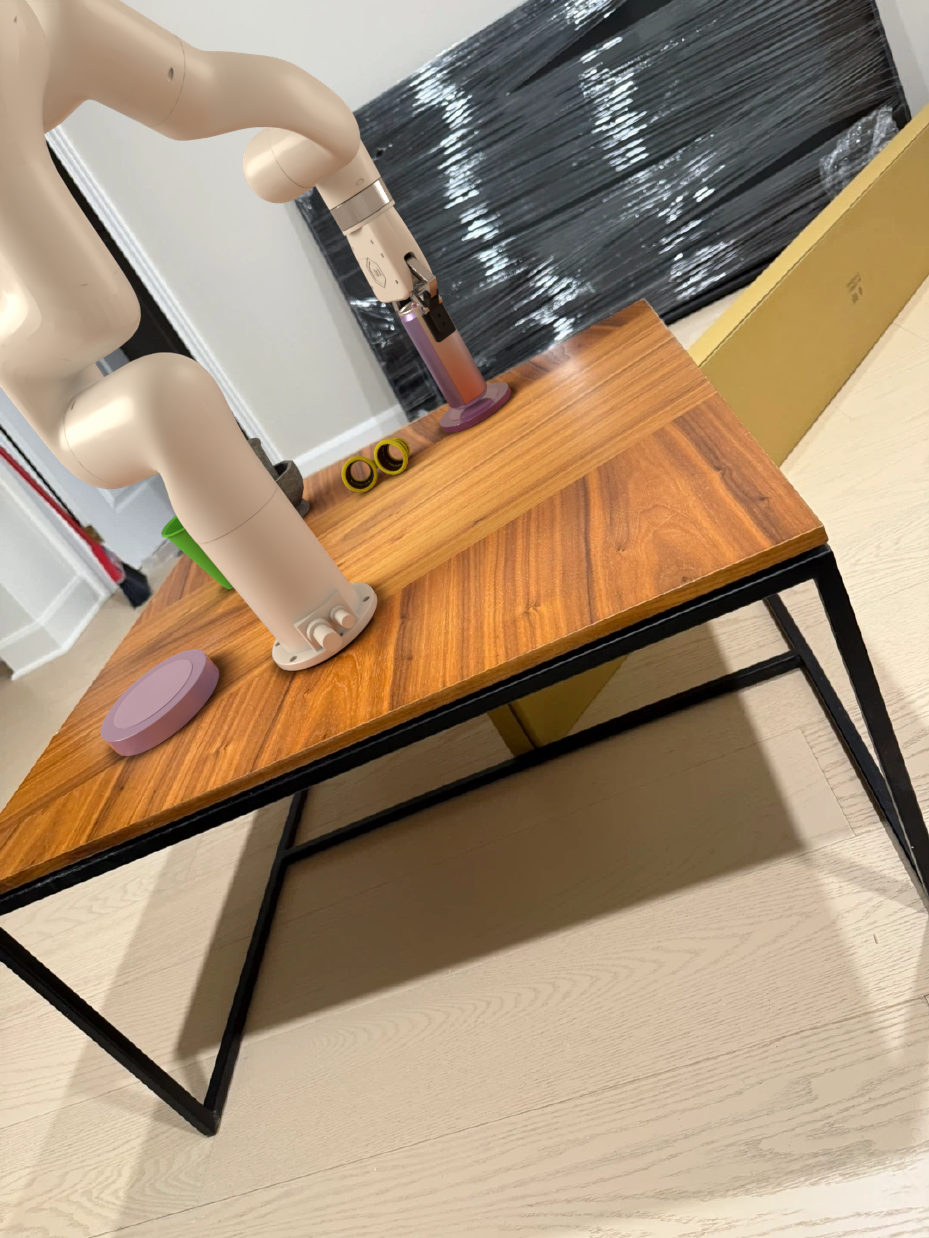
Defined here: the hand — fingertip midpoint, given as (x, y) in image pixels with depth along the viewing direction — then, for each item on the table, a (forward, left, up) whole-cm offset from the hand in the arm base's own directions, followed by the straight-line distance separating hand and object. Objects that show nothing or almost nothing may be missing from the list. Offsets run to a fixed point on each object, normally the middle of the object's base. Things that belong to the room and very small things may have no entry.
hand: (435, 336), depth 113 cm
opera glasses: (+2, +16, -12) cm, 20 cm away
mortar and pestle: (+14, +28, -12) cm, 33 cm away
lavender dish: (-15, +56, -12) cm, 59 cm away
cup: (+6, +40, -12) cm, 42 cm away
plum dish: (0, 0, -12) cm, 12 cm away
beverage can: (0, 0, -10) cm, 10 cm away
